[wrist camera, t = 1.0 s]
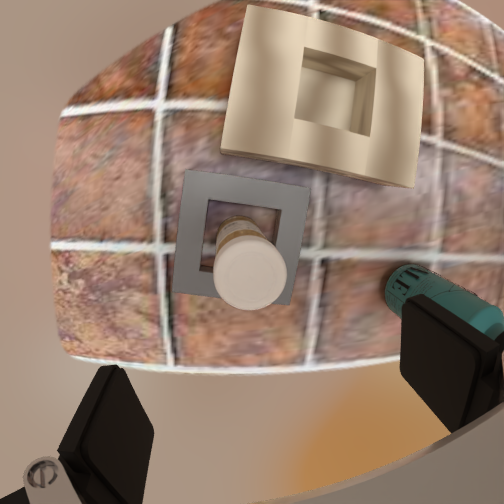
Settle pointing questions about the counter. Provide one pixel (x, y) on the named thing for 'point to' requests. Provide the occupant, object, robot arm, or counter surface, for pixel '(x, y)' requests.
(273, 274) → the sprinkles bottle
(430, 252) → the counter surface
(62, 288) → the counter surface
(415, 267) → the beverage bottle
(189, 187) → the charcoal collar
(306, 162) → the birch dock block
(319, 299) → the counter surface
